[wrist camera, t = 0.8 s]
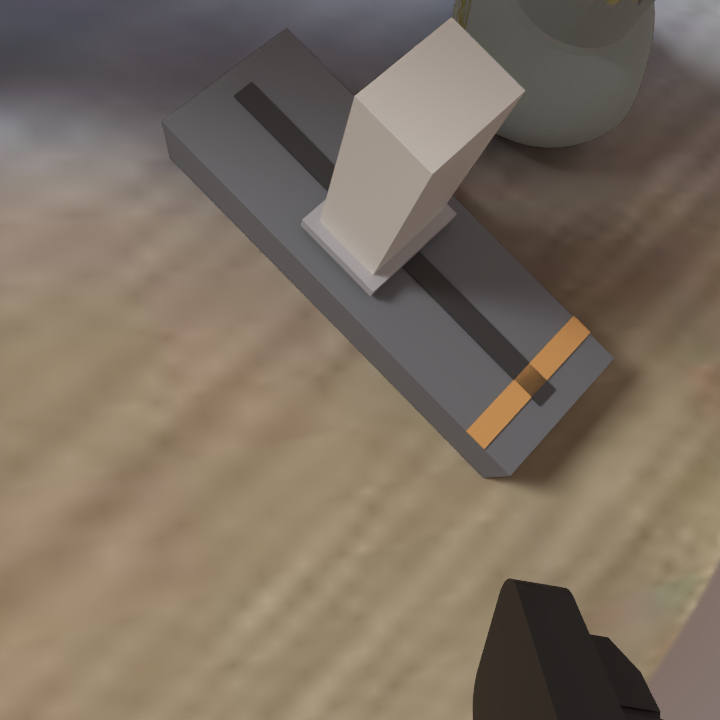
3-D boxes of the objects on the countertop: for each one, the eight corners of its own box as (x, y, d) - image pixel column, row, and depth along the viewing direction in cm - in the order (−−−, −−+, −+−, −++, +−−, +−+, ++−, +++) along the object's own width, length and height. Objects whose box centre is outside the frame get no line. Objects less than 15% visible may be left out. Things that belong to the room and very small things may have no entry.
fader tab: (300, 225, 26) (328, 93, 18) (385, 152, 28) (451, -5, 19) (370, 296, 26) (432, 198, 17) (452, 219, 27) (548, 93, 19)
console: (169, 157, 29) (161, 119, 26) (282, 71, 31) (286, 26, 28) (483, 477, 29) (511, 476, 26) (579, 370, 31) (615, 357, 28)
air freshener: (457, -37, 34) (540, -245, 25) (602, 7, 35) (737, -177, 26) (426, 148, 32) (505, -3, 22) (583, 189, 33) (724, 62, 23)
